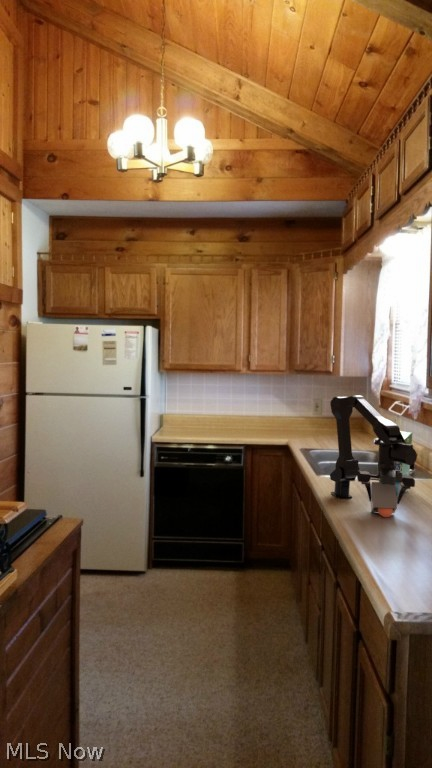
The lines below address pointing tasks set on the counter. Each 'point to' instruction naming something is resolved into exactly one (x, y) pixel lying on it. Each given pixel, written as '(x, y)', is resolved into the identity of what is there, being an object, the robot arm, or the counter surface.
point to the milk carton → (401, 466)
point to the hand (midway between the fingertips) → (383, 502)
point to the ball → (385, 511)
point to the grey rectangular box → (383, 496)
